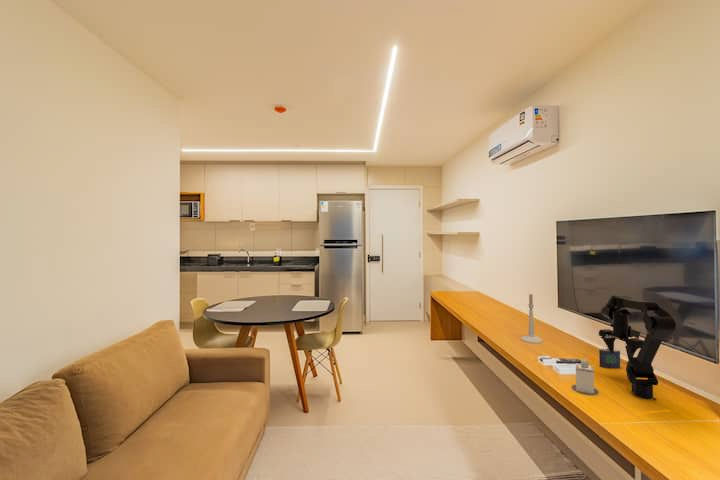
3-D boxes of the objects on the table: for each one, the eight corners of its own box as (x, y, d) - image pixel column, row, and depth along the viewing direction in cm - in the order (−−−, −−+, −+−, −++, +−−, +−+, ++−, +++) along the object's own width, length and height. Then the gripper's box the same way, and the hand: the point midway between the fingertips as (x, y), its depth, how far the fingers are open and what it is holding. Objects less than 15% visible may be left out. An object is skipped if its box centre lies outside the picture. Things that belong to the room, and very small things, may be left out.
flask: (618, 366, 176) (618, 346, 175) (621, 369, 173) (621, 347, 173) (598, 365, 178) (598, 345, 177) (601, 367, 175) (601, 347, 175)
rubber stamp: (593, 388, 151) (593, 358, 150) (593, 394, 145) (593, 363, 145) (576, 385, 154) (575, 356, 154) (576, 390, 149) (575, 361, 149)
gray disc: (604, 396, 146) (604, 393, 146) (583, 398, 144) (583, 395, 144) (586, 385, 155) (585, 383, 155) (566, 387, 154) (566, 385, 154)
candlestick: (545, 343, 213) (545, 295, 212) (524, 343, 215) (523, 295, 214) (538, 337, 226) (538, 292, 225) (517, 336, 228) (517, 291, 227)
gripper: (656, 327, 149) (656, 362, 150) (617, 316, 168) (618, 348, 168) (633, 328, 148) (633, 364, 148) (597, 318, 166) (597, 350, 167)
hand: (620, 356), depth 158 cm, fingers open, 9 cm apart
